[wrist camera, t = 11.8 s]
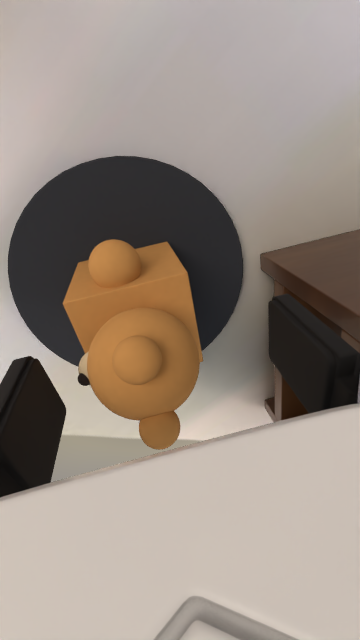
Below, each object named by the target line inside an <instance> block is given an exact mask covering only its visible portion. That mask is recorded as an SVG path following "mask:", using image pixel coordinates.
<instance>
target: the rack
mask: <svg viewBox="0 0 360 640" xmlns="http://www.w3.org/2000/svg"><path fill="white" fill-rule="evenodd" d="M261 270H263V271H264V272H265V273H267V274H268V275H270V276H271V277H272V278H274V279H275V280H274V297H275V296H279V295H283V294H290V295H291V296H292V297H293V298H294V299H296V300H297V301H298V302H299V303H300V304H302V305H303V306H304V307H305V308H306V309H308V310H309V311H310V312H311V313H312V314H313V315H315V316H316V317H317V318H318V319H319V320H321V321H322V322H323V323H324V324H325V325H327V326H328V327H329V328H330V329H331V330H333V331H334V332H335V333H336V334H337V335H339V336H340V337H341V338H342V339H343V340H345V341H346V342H347V343H348V344H349V345H351V346H352V347H353V348H354V349H355V350H357V351H358V352H359V353H360V229H359V230H355V231H351V232H347V233H343V234H339V235H335V236H331V237H327V238H323V239H319V240H315V241H311V242H307V243H303V244H299V245H295V246H291V247H286V248H282V249H278V250H274V251H270V252H266V253H262V254H261ZM265 409H266V410H267V412H268V414H269V415H270V417H271V418H272V420H273V422H278V421H281V420H285V419H289V418H293V417H298V416H302V415H306V414H309V413H308V411H307V410H306V409H305V407H304V406H303V404H302V403H301V402H300V400H299V399H298V397H297V396H296V395H295V393H294V392H293V390H292V389H291V388H290V386H289V385H288V383H287V382H286V381H285V379H284V378H283V376H282V375H281V374H280V372H279V371H278V369H277V368H276V367H275V397H273V398H270V399H266V400H265Z"/></svg>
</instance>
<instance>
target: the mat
mask: <svg viewBox="0 0 360 640" xmlns="http://www.w3.org/2000/svg"><path fill="white" fill-rule="evenodd" d="M111 239H116V240H121V241H124V242H126V243H128V244H129V245H131V246H132V247H133V248H134V249H137V248H142V247H146V246H150V245H154V244H159V243H163V242H168V243H169V245H170V247H171V248H172V250H173V251H174V253H175V254H176V256H177V257H178V259H179V260H180V262H181V263H182V265H183V266H184V268H185V270H186V271H187V273H188V277H189V283H190V288H191V294H192V300H193V306H194V311H195V317H196V323H197V328H198V334H199V340H200V346H201V351H202V350H204V349H205V348H206V347H207V346H208V345H209V344H210V343H211V342H212V341H213V340H214V339H215V338H216V337H217V336H218V335H219V333H220V332H221V331H222V329H223V328H224V327H225V325H226V324H227V322H228V320H229V318H230V317H231V315H232V313H233V311H234V308H235V306H236V303H237V301H238V297H239V294H240V290H241V284H242V277H243V259H242V251H241V245H240V242H239V238H238V234H237V232H236V229H235V227H234V225H233V222H232V220H231V218H230V217H229V215H228V213H227V212H226V210H225V208H224V207H223V205H222V204H221V203H220V202H219V200H218V199H217V198H216V197H215V196H214V194H213V193H212V192H211V191H209V190H208V189H207V188H206V187H205V186H204V185H203V184H202V183H201V182H199V181H198V180H196V179H195V178H193V177H192V176H191V175H189V174H188V173H186V172H184V171H182V170H180V169H178V168H176V167H174V166H172V165H169V164H166V163H163V162H160V161H157V160H153V159H147V158H141V157H132V156H115V157H107V158H99V159H95V160H92V161H89V162H85V163H82V164H79V165H77V166H75V167H73V168H70V169H68V170H66V171H64V172H62V173H61V174H59V175H58V176H56V177H55V178H54V179H52V180H51V181H49V182H48V183H47V184H46V185H45V186H44V187H43V188H41V189H40V190H39V191H38V192H37V193H36V194H35V195H34V197H33V198H32V199H31V201H30V202H29V203H28V204H27V206H26V207H25V208H24V210H23V212H22V214H21V216H20V218H19V220H18V221H17V223H16V226H15V229H14V232H13V235H12V238H11V242H10V248H9V254H8V275H9V282H10V288H11V292H12V295H13V298H14V301H15V304H16V306H17V308H18V310H19V313H20V315H21V317H22V318H23V320H24V321H25V323H26V324H27V326H28V327H29V329H30V330H31V331H32V332H33V334H34V335H35V336H36V337H37V338H38V340H40V341H41V342H42V343H43V344H44V345H45V346H46V347H47V348H48V349H49V350H51V351H52V352H54V353H55V354H56V355H58V356H59V357H61V358H62V359H64V360H66V361H68V362H70V363H71V364H74V365H76V366H78V367H79V363H80V360H81V358H82V357H83V356H84V355H85V352H84V350H83V348H82V345H81V343H80V341H79V339H78V337H77V334H76V332H75V330H74V328H73V325H72V323H71V321H70V319H69V316H68V314H67V312H66V310H65V308H64V305H63V301H64V299H65V296H66V293H67V291H68V288H69V286H70V283H71V280H72V278H73V275H74V272H75V270H76V267H77V265H78V263H79V262H82V261H87V260H89V257H90V254H91V252H92V251H93V249H94V248H95V247H96V246H97V245H98V244H100V243H101V242H104V241H106V240H111Z"/></svg>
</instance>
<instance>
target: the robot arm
mask: <svg viewBox="0 0 360 640" xmlns="http://www.w3.org/2000/svg"><path fill="white" fill-rule="evenodd" d="M269 356H270V359H271V361H272V362H273V364H274V365H275V367H276V368H277V369H278V371H279V372H280V374H281V375H282V376H283V378H284V379H285V381H286V382H287V383H288V385H289V386H290V388H291V389H292V390H293V392H294V393H295V395H296V396H297V397H298V399H299V400H300V402H301V403H302V404H303V406H304V407H305V409H306V410H307V411H308V413H309V414H306V415H302V416H298V417H293V418H289V419H285V420H281V421H278V422H274V423H270V424H266V425H262V426H259V427H255V428H251V429H247V430H243V431H239V432H236V433H232V434H228V435H224V436H220V437H217V438H213V439H209V440H205V441H202V442H198V443H195V444H190V445H187V446H183V447H179V448H175V449H172V450H168V451H164V452H161V453H157V454H153V455H150V456H146V457H143V458H139V459H135V460H131V461H127V462H124V463H120V464H116V465H113V466H109V467H106V468H102V469H98V470H94V471H91V472H87V473H83V474H80V475H77V476H73V477H69V478H65V479H62V480H58V481H54V482H51V477H52V473H53V469H54V464H55V460H56V455H57V451H58V447H59V442H60V438H61V434H62V429H63V425H64V421H65V416H66V407H65V405H64V403H63V401H62V399H61V398H60V396H59V394H58V393H57V391H56V389H55V387H54V386H53V384H52V382H51V380H50V379H49V377H48V375H47V374H46V372H45V370H44V368H43V367H42V365H41V363H40V361H39V360H38V359H34V358H33V357H31V356H28V357H24V358H20V359H16V360H14V361H13V362H12V364H11V365H10V367H9V369H8V371H7V373H6V375H5V376H4V378H3V380H2V382H1V384H0V640H360V353H359V352H358V351H357V350H355V349H354V348H353V347H352V346H351V345H349V344H348V343H347V342H346V341H345V340H343V339H342V338H341V337H340V336H339V335H337V334H336V333H335V332H334V331H333V330H331V329H330V328H329V327H328V326H327V325H325V324H324V323H323V322H322V321H321V320H319V319H318V318H317V317H316V316H315V315H313V314H312V313H311V312H310V311H309V310H308V309H306V308H305V307H304V306H303V305H302V304H300V303H299V302H298V301H297V300H296V299H294V298H293V297H292V296H291V295H290V294H283V295H279V296H275V297H273V299H272V301H270V302H269ZM50 482H51V483H50Z"/></svg>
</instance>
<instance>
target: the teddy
mask: <svg viewBox="0 0 360 640" xmlns="http://www.w3.org/2000/svg"><path fill="white" fill-rule="evenodd" d="M63 305H64V308H65V310H66V312H67V314H68V316H69V319H70V321H71V323H72V325H73V328H74V330H75V332H76V334H77V337H78V339H79V341H80V343H81V345H82V348H83V350H84V352H85V355H84V356H83V357H82V358H81V360H80V363H79V368H78V370H79V376H78V382H79V383H80V384H81V385H83V386H87V385H91V387H92V389H93V391H94V393H95V395H96V396H97V398H98V399H99V400H100V401H101V403H102V404H103V405H104V406H106V407H107V408H108V409H109V410H111V411H112V412H113V413H115V414H117V415H119V416H122V417H124V418H127V419H132V420H140V423H139V433H140V436H141V438H142V440H143V442H144V443H145V444H146V445H147V446H149V447H151V448H153V449H165V448H168V447H169V446H171V445H172V444H173V443H174V442H175V441H176V440H177V438H178V436H179V433H180V421H179V418H178V416H177V414H176V413H175V412H174V410H176V409H177V408H178V407H179V406H181V405H182V404H183V403H184V402H185V400H186V399H187V398H188V397H189V395H190V394H191V392H192V390H193V388H194V386H195V384H196V381H197V378H198V374H199V365H200V362H202V361H203V357H202V351H201V346H200V340H199V334H198V328H197V323H196V317H195V311H194V306H193V300H192V294H191V288H190V283H189V277H188V273H187V271H186V270H185V268H184V266H183V265H182V263H181V262H180V260H179V259H178V257H177V256H176V254H175V253H174V251H173V250H172V248H171V247H170V245H169V243H168V242H163V243H159V244H154V245H150V246H146V247H142V248H137V249H134V248H133V247H132V246H131V245H129V244H128V243H126V242H124V241H121V240H116V239H111V240H106V241H104V242H101V243H100V244H98V245H97V246H96V247H95V248H94V249H93V251H92V252H91V254H90V257H89V260H87V261H82V262H79V263H78V265H77V267H76V270H75V272H74V275H73V278H72V280H71V283H70V286H69V288H68V291H67V293H66V296H65V299H64V301H63Z"/></svg>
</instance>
